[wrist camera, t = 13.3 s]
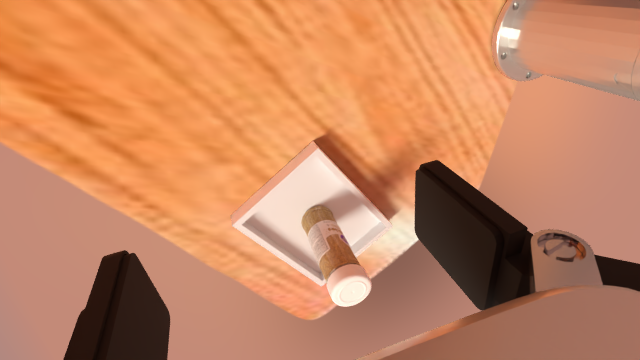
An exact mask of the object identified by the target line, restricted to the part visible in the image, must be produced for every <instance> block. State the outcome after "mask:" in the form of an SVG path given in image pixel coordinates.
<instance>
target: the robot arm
mask: <svg viewBox="0 0 640 360" xmlns="http://www.w3.org/2000/svg"><path fill="white" fill-rule="evenodd" d="M492 53H493V59H494V62H495V65H496V66H497V68H498V70H499V71H500V72H501V73H502V74H503V75H504V76H506V77H508V78H510V79H513V80H517V81H529V80H533V79H536V78H538V77H540V76H542V75H547V76H551V77H554V78H558V79H562V80H565V81H569V82H573V83H576V84H580V85H583V86H587V87H591V88H594V89H598V90H601V91H605V92H608V93H612V94H616V95H619V96H623V97H626V98H630V99H634V100H637V101H640V0H507V2H506V3H505V5H504V7H503V9H502V11H501V12H500V14H499V17H498V20H497V22H496V25H495V29H494V33H493V39H492ZM415 233H416V235H417V237H418V239H419V240H420V241H421V242H422V243H423V244H424V246H425V247H426V248H427V249H428V250H429V252H430V253H431V254H432V255H433V256H434V258H435V259H436V260H437V261H438V262H439V263H440V265H441V266H442V267H443V268H444V269H445V270H446V272H447V273H448V274H449V275H450V276H451V278H452V279H453V280H454V281H455V282H456V283H457V285H458V286H459V287H460V288H461V289H462V290H463V292H464V293H465V294H466V295H467V296H468V297H469V299H470V300H471V301H472V302H473V303H474V305H475V306H476V307H477V308H478V309H480V310H483V311H481V312H478V313H475V314H473V315H470V316H467V317H464V318H462V319H459V320H457V321H454V322H452V323H449V324H446V325H444V326H441V327H438V328H436V329H433V330H431V331H428V332H425V333H423V334H420V335H417V336H415V337H412V338H410V339H407V340H404V341H402V342H399V343H396V344H394V345H391V346H389V347H386V348H384V349H381V350H378V351H376V352H373V353H371V354H368V355H366V356H363V357H360V358H358V359H355V360H640V264H636V263H632V262H627V261H622V260H617V259H613V258H608V257H602V256H598V255H594V253H593V250H592V249H591V247H590V245H588V244H587V243H586V242H585V241H584V240H583V239H581V238H579V237H578V236H576V235H574V234H571V233H569V232H565V231H561V230H553V229H552V230H551V229H548V230H541V231H539V232H537V233H535V234H534V235H533V234H531V233H530V232H529V231H527V227H526V226H525V225H523V224H522V223H521V222H519V221H518V220H517V219H515V218H514V217H512V216H511V215H510V214H509V213H507V212H506V211H504V210H503V209H502V208H501V207H499V206H498V205H497V204H495V203H494V202H493V201H491V200H490V199H489V198H487V197H486V196H485V195H483V194H482V193H481V192H480V191H478V190H477V189H476V188H474V187H473V186H472V185H470V184H469V183H468V182H466V181H465V180H464V179H462V178H461V177H460V176H458V175H457V174H456V173H454V172H453V171H452V170H450V169H449V168H448V167H446V166H445V165H444V164H442V163H441V162H440V161H438V160H435V161H431V162H428V163H424V164H421V165H420V167H419V169H418V170H417V171H416V181H415ZM169 329H170V315H169V311H168V309H167V307H166V306H165V304H164V302H163V300H162V299H161V297H160V296H159V293H158V292H157V290H156V288H155V287H154V285H153V283H152V281H151V280H150V278H149V276H148V275H147V273H146V271H145V269H144V268H143V266H142V264H141V262H140V261H139V259H138V257H137V256H136V254H135V253H131V254H129V253H128V252H127V251H125V250H124V251H121V252H117V253H113V254H110V255H107V256H104V257H103V258H102V261H101V264H100V266H99V269H98V272H97V275H96V278H95V281H94V284H93V288H92V290H91V294H90V296H89V299H88V302H87V305H86V308H85V309H84V310H83V311H82V312H81V313H80V315H79V317H78V320H77V323H76V326H75V328H74V331H73V334H72V337H71V340H70V342H69V345H68V348H67V351H66V354H65V357H64V360H167V353H168V342H169Z"/></svg>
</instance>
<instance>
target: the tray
mask: <svg viewBox="0 0 640 360" xmlns="http://www.w3.org/2000/svg"><path fill="white" fill-rule="evenodd" d="M317 206H324V207H327V208H329V209H330V210H331V212H332V213H333V217H334V219H335V221H336V222H337V224H338V225H339V227H340V229H341V231H342V233H343V234H344V236H345V238H346V240H347V242H348V243H349V245H350V247H351V250H352V252H353V254H354V255H355V257H357V256H359V255H360V254H361V253H362V252H363V251H365V250H366V249H367V248H368V247H369V246H371V245H372V244H373V243H374V242H375V241H377V240H378V239H379V238H380V237H381V236H383V235H384V234H385V233H386V232H387V231H388V230H390V229H391V228H392V227H393V225H392V224H391V223H390V221H389V220H388V219H387V218H386V217H385V216H384V214H383V213H382V212H381V211H380V210H379V209H378V208H377V207H376V206H375V205H374V204H373V203H372V202H371V201H370V200H369V199H368V198H367V197H366V196H365V195H364V194H363V193H362V192H361V190H360V189H359V188H358V187H357V186H356V185H355V184H354V183H353V182H352V181H351V180H350V179H349V178H348V177H347V176H346V175H345V174H344V173H343V172H342V171H341V170H340V169H339V167H338V166H337V165H336V164H335V163H334V162H333V161H332V160H331V159H330V158H329V157H328V156H327V155H326V154H325V153H324V152H323V151H322V150H321V149H320V148H319V147H318V146H317V144H316V143H315V142H314V141H312V142H311V143H310V144H309V145H308V146H306V147H305V148H304V149H303V150H302V151H301V152H300V153H299V154H298V155H297V156H295V157H294V158H293V159H292V160H291V161H290V162H289V163H288V164H287V165H286V166H284V167H283V168H282V169H281V170H280V171H279V172H278V173H277V174H276V175H275V176H273V177H272V178H271V179H270V180H269V181H268V182H267V183H266V184H265V185H264V186H262V187H261V188H260V189H259V190H258V191H257V192H256V193H255V194H254V195H253V196H251V197H250V198H249V199H248V200H247V201H246V202H245V203H244V204H243V205H241V206H240V207H239V208H238V209H237V210H236V211H235V212H234V213H233V214H232V215H231V222H232V226H233V227H235V228H236V229H238V230H239V231H241V232H242V233H243V234H245V235H246V236H248V237H249V238H251V239H252V240H254V241H255V242H257V243H258V244H260V245H261V246H263V247H264V248H266V249H267V250H268V251H270V252H271V253H273V254H274V255H276V256H277V257H279V258H280V259H282V260H283V261H285V262H286V263H288V264H289V265H290V266H292V267H293V268H295V269H296V270H298V271H299V272H301V273H302V274H304V275H305V276H307V277H308V278H310V279H311V280H313V281H314V282H315V283H317V284H318V285H320V286H323V285H324V284H325V283H326V280H325V278H324V276H323V273H322V271H321V269H320V267H319V265H318V263H317V260H316V258H315V256H314V253H313V251H312V248H311V246H310V243H309V241H308V237H307V235H306V232H305V230H304V229H303V227H302V224H301V221H302V217H303V216H304V214H305V213H306V212H307V211H308V210H309V209H311V208H313V207H317Z"/></svg>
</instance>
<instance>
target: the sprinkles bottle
mask: <svg viewBox="0 0 640 360" xmlns="http://www.w3.org/2000/svg"><path fill="white" fill-rule="evenodd" d="M301 224H302V227H303V229H304V230H305V232H306V235H307V237H308V241H309V243H310V246H311V248H312V251H313V253H314V256H315V258H316V260H317V263H318V265H319V267H320V269H321V271H322V273H323V276H324V278H325V280H326V284H327V289H328V292H329V294H330V296H331V298H332V300H333V302H334V303H335V304H337V305H339V306H345V307H346V306H352V305H355V304H357V303H359V302H361V301H362V300H364V299H365V298H366V297H367V295H368V294H369V292H370V290H371V285H372V284H371V280H370V278H369V276H368V274H367V273H366V271H365V269H364V268H363V267H362V266H361V265H360V264H359V262H358V261H357V259H356V257H355V255H354V254H353V252H352V250H351V247H350V245H349V243H348V242H347V240H346V238H345V236H344V234H343V233H342V231H341V229H340V227H339V225H338V224H337V222H336V221H335V219H334V217H333V213H332V212H331V210H330V209H329V208H327V207H324V206H317V207H313V208H311V209H309V210H308V211H307V212H306V213H305V214H304V216H303V217H302V221H301Z"/></svg>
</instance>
